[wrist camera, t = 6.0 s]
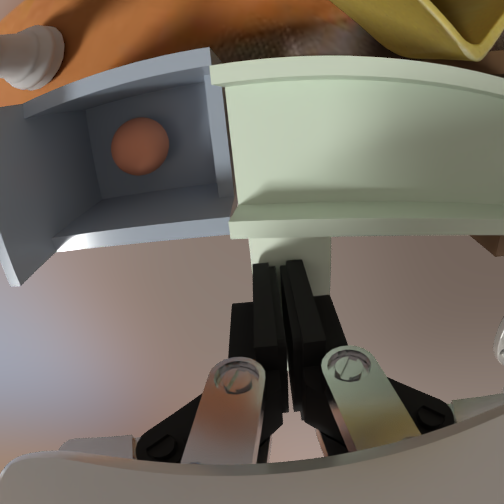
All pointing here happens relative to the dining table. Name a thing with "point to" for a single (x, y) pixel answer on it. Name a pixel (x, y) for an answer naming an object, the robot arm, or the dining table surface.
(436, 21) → the flower pot
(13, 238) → the blue-grey box
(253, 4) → the dining table surface
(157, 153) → the ball
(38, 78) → the rook chess piece
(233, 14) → the dining table surface
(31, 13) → the dining table surface
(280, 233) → the lever
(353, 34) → the dining table surface
